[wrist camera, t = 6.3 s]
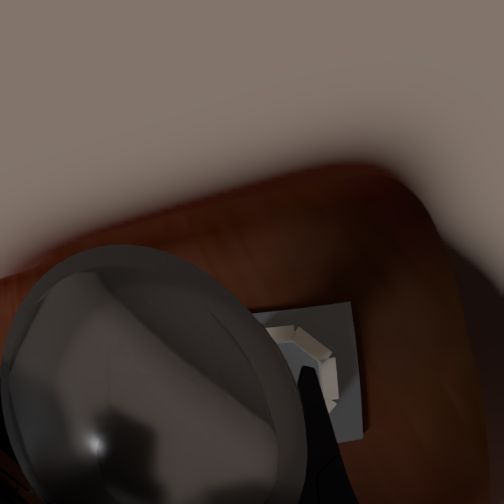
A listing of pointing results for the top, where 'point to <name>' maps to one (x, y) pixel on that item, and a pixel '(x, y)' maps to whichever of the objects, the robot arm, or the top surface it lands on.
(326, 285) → the top surface
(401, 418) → the top surface
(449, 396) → the top surface
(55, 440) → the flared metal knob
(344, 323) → the dock
